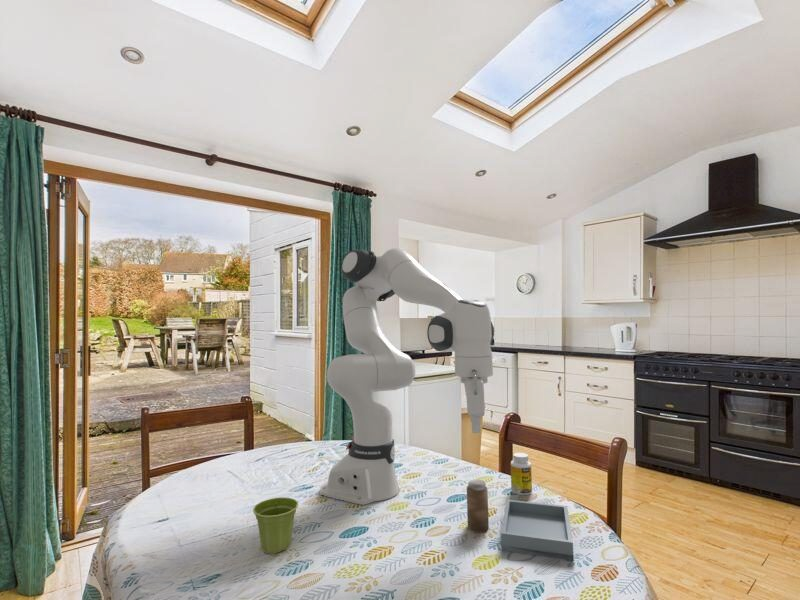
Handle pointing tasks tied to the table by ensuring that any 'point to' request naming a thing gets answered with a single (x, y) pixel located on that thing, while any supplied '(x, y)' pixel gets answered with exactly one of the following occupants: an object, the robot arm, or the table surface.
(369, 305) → the robot arm
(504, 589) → the table surface
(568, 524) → the tray
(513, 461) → the supplement bottle
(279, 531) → the plant pot
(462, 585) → the table surface
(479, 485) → the shaker
